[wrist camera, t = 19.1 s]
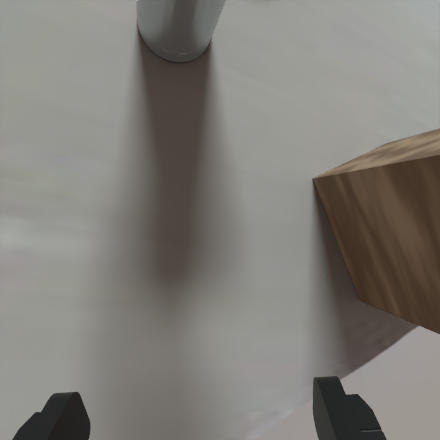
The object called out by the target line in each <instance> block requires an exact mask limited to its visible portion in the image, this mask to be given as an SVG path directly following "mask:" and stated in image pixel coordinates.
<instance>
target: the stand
mask: <svg viewBox="0 0 440 440" xmlns="http://www.w3.org/2000/svg"><path fill="white" fill-rule="evenodd" d="M313 181H314V184H315V186H316V189H317V191H318V194H319V197H320V199H321V202H322V204H323V207H324V209H325V212H326V215H327V217H328V220H329V222H330V225H331V228H332V230H333V233H334V235H335V238H336V240H337V243H338V246H339V248H340V251H341V253H342V256H343V259H344V261H345V264H346V266H347V269H348V271H349V274H350V277H351V279H352V282H353V284H354V287H355V289H356V292H357V295H358V297H359V300H360V301H362V302H364V303H367V304H369V305H372V306H374V307H376V308H379V309H381V310H384V311H386V312H388V313H391V314H393V315H395V316H398V317H400V318H403V319H405V320H407V321H410V322H412V323H414V324H417V325H419V326H422V327H424V328H426V329H429V330H431V331H434V332H436V333H438V334H440V129H436V130H433V131H429V132H426V133H422V134H418V135H415V136H411V137H408V138H404V139H400V140H397V141H393V142H390V143H387V144H385V145H382V146H380V147H378V148H376V149H374V150H372V151H370V152H368V153H366V154H364V155H361V156H359V157H357V158H355V159H353V160H351V161H349V162H347V163H345V164H342V165H340V166H338V167H336V168H334V169H332V170H330V171H328V172H326V173H324V174H321V175H319V176H317V177H315V178H313Z"/></svg>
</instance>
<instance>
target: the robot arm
mask: <svg viewBox="0 0 440 440" xmlns="http://www.w3.org/2000/svg"><path fill="white" fill-rule="evenodd" d="M225 1H226V0H136V2H137V21H138V28H139V32H140V35H141V37H142V38H143V40H144V42H145V43H146V45H147V46H148V47H149V49H151V50H152V51H153V52H154V53H155V54H156V55H158V56H160V57H161V58H163V59H166V60H168V61H171V62H178V63H179V62H188V61H191V60H194V59H196V58H197V57H199V56H200V55H201V54H202V53H203V52H204V51H205V50H206V48H207V46H208V45H209V42H210V39H211V37H212V34H213V32H214V29H215V27H216V24H217V22H218V19H219V16H220V14H221V11H222V9H223V6H224V3H225ZM313 415H314V422H315V427H316V431H317V435H318V438H319V440H386V437H385V435H384V433H383V432H382V431H381V427H380V425H379V423H378V421H377V419H376V417H375V414H374V412H373V410H372V409H371V408H370V407H369V406H368V404H366V402H365V401H364V400H363V399H362V398H361V397H360V396H359V395H358V394H352V395H346V394H345V392H344V390H343V387H342V384H341V382H340V380H339V378H338V377H337V376H332V377H315V378H314V380H313ZM89 435H90V420H89V418H88V415H87V412H86V410H85V407H84V404H83V402H82V399H81V396H80V394H79V393H78V392H68V393H55V394H53V395H52V396H51V397H50V398H49V400H48V401H47V403H46V405H45V406H44V408H43V410H42V411H41V412H36V413H34V414H33V416H32V417H31V418H30V419H29V420H28V421H27V422H26V423H25V424H24V425H23V426H22V427H21V428H20V429H19V430H18V432H17V433H16V435H15V436H14V438H13V440H88V439H89Z"/></svg>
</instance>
